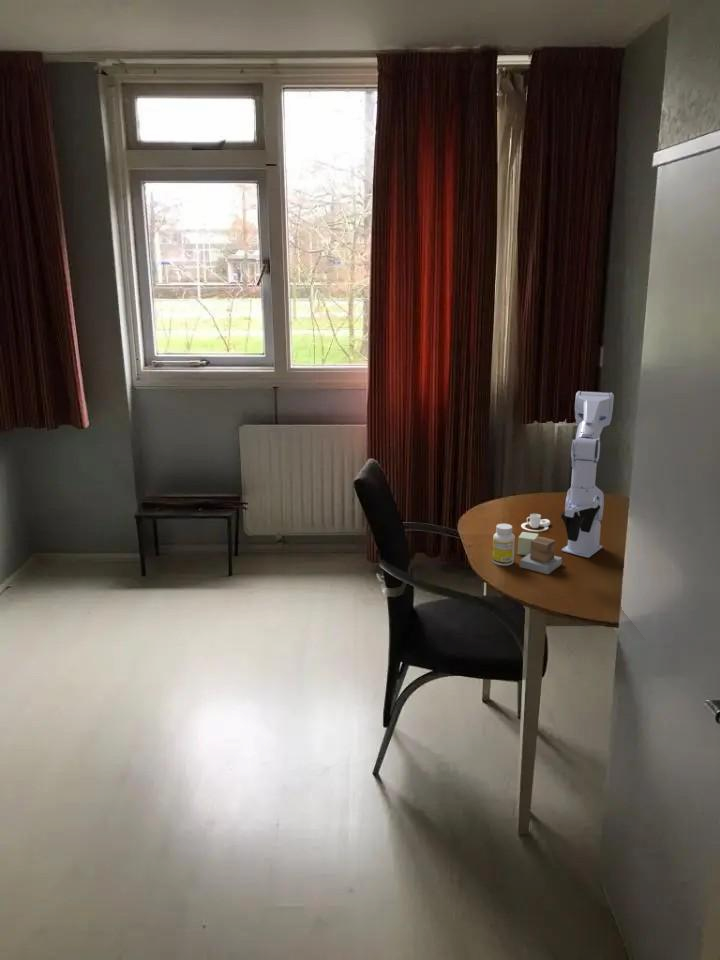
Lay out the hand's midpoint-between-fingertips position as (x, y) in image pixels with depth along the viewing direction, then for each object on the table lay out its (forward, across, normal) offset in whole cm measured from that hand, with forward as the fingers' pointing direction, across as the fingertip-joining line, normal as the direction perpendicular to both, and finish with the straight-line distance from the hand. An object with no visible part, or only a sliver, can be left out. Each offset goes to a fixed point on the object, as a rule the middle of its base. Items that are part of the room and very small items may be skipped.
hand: (578, 535), depth 196 cm
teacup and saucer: (+11, +23, +21) cm, 33 cm away
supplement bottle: (+10, -6, +18) cm, 21 cm away
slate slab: (+10, -2, +9) cm, 14 cm away
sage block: (+10, +4, +16) cm, 19 cm away
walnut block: (+8, -2, +9) cm, 12 cm away
